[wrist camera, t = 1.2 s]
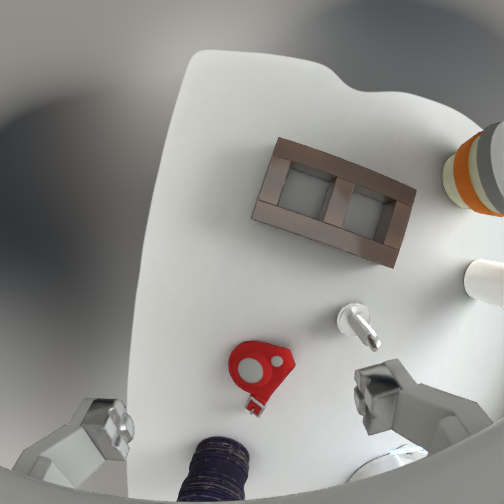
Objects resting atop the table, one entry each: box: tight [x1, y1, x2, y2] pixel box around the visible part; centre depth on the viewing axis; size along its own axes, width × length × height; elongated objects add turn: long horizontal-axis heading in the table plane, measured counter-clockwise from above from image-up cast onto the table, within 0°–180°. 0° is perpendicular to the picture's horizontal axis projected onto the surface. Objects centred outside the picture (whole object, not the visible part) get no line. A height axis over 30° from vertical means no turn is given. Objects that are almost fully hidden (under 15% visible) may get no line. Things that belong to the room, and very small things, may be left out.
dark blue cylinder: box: [176, 437, 249, 502], centre depth 39 cm, size 10×10×15 cm
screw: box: [337, 303, 380, 352], centre depth 37 cm, size 13×5×5 cm
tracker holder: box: [229, 341, 295, 417], centre depth 43 cm, size 12×4×10 cm
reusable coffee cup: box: [442, 121, 504, 217], centre depth 33 cm, size 13×13×15 cm
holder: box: [251, 137, 417, 268], centre depth 40 cm, size 11×20×5 cm, turn 71°
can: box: [464, 259, 504, 310], centre depth 35 cm, size 6×6×12 cm
